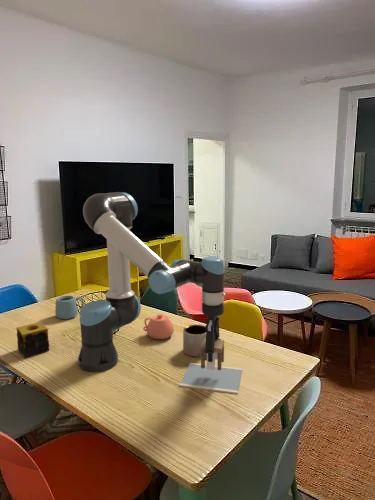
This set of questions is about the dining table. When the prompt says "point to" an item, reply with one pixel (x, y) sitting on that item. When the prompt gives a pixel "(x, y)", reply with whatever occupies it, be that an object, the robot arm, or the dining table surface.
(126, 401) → the dining table surface
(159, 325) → the sugar bowl
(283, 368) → the dining table surface
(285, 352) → the dining table surface
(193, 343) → the planter
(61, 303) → the mug
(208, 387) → the rug
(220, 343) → the stool
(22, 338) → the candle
